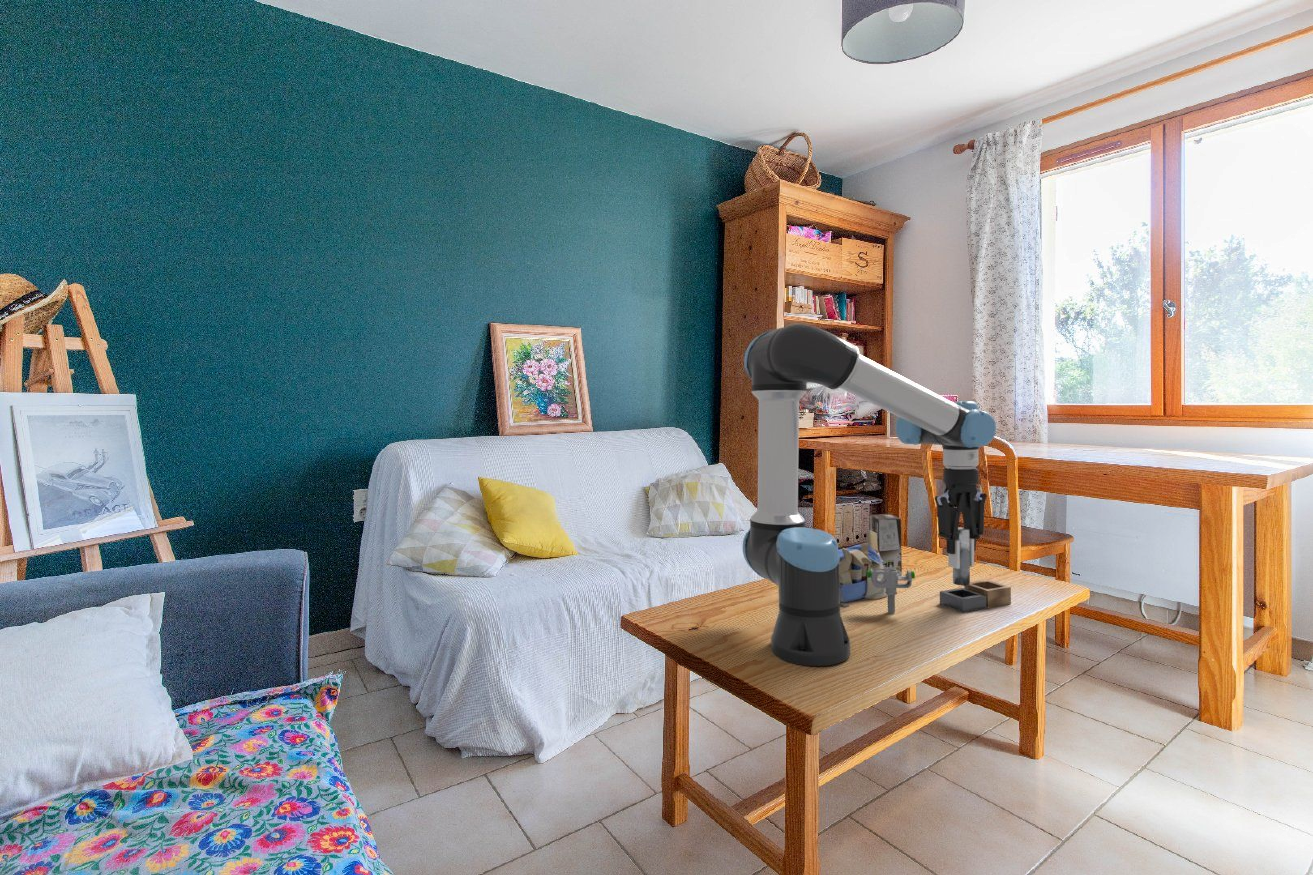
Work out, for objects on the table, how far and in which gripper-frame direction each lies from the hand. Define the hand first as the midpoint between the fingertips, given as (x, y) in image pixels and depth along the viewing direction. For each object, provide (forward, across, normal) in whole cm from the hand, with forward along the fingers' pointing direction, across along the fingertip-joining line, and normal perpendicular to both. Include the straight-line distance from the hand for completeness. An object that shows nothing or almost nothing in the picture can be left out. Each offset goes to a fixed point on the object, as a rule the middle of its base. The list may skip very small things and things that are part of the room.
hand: (961, 566), depth 148 cm
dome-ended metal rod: (+4, 0, 0) cm, 4 cm away
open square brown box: (+9, +8, 0) cm, 12 cm away
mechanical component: (+10, -18, +3) cm, 20 cm away
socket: (+9, 0, 0) cm, 10 cm away
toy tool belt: (+10, -21, +17) cm, 29 cm away
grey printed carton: (+10, +4, +32) cm, 34 cm away
